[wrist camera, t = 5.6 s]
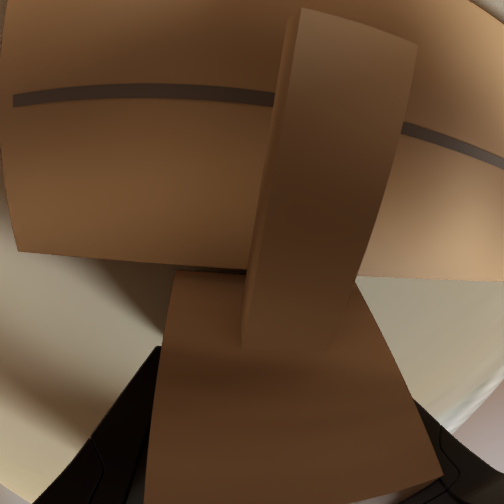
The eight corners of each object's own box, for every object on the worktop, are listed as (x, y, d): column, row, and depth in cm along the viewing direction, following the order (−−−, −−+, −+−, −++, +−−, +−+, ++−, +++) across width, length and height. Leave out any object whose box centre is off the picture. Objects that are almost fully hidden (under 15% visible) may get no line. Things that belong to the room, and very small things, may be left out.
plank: (531, 267, 11) (546, 282, 10) (36, 230, 8) (17, 252, 7) (581, 113, 7) (600, 121, 6) (41, -38, 4) (18, -47, 3)
